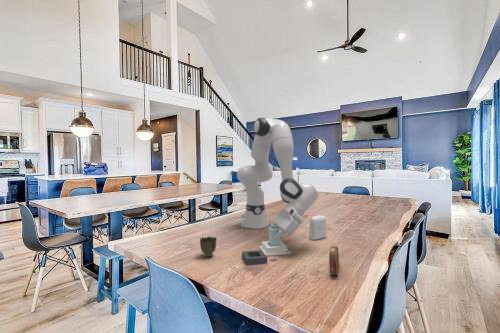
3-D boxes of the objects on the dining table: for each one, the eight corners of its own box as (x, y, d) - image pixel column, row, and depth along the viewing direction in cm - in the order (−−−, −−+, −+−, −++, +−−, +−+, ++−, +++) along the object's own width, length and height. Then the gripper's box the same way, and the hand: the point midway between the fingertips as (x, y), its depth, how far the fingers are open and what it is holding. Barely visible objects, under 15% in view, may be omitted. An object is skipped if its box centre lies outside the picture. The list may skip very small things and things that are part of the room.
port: (258, 247, 127) (258, 241, 127) (281, 245, 130) (281, 239, 130) (265, 256, 116) (265, 249, 116) (290, 253, 119) (290, 247, 118)
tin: (337, 279, 94) (337, 256, 93) (328, 278, 95) (328, 255, 95) (339, 263, 108) (339, 243, 107) (331, 262, 109) (331, 242, 109)
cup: (202, 253, 120) (201, 236, 120) (217, 253, 120) (217, 236, 119) (198, 259, 112) (198, 241, 112) (215, 259, 112) (215, 241, 112)
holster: (242, 257, 115) (241, 251, 115) (261, 255, 117) (261, 249, 117) (246, 265, 106) (246, 259, 106) (267, 263, 108) (267, 257, 108)
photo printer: (321, 235, 146) (321, 213, 145) (327, 237, 142) (327, 215, 142) (308, 238, 140) (308, 216, 140) (314, 240, 137) (314, 217, 136)
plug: (268, 247, 125) (268, 224, 124) (276, 247, 125) (276, 224, 125) (271, 250, 121) (271, 227, 120) (279, 250, 122) (279, 226, 121)
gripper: (280, 204, 134) (262, 224, 132) (296, 213, 114) (275, 236, 112) (288, 212, 135) (270, 232, 133) (305, 222, 115) (284, 246, 113)
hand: (272, 234), depth 123 cm, fingers open, 8 cm apart
